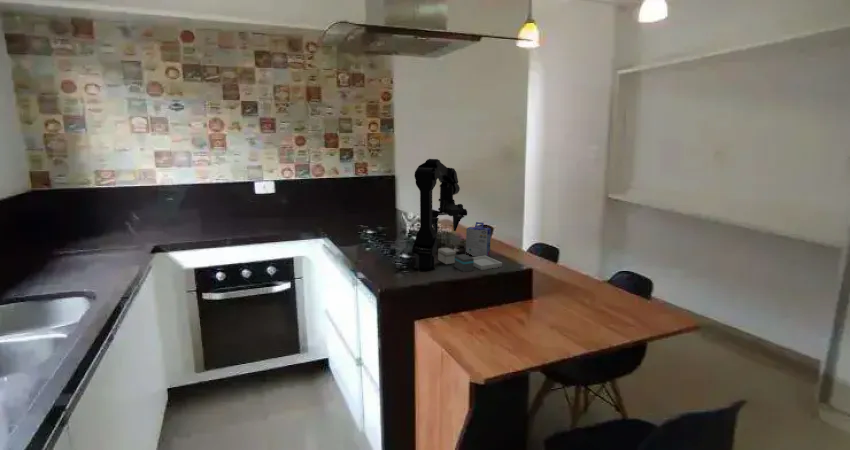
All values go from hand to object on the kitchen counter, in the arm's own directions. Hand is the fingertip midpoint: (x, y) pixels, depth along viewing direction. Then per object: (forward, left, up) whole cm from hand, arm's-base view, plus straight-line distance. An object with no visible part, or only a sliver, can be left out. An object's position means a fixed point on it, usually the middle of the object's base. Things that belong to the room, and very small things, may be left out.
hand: (445, 231), depth 205 cm
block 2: (-5, -24, -10) cm, 26 cm away
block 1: (-6, -12, -10) cm, 17 cm away
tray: (+5, -23, -10) cm, 25 cm away
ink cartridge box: (+11, -10, -10) cm, 18 cm away
